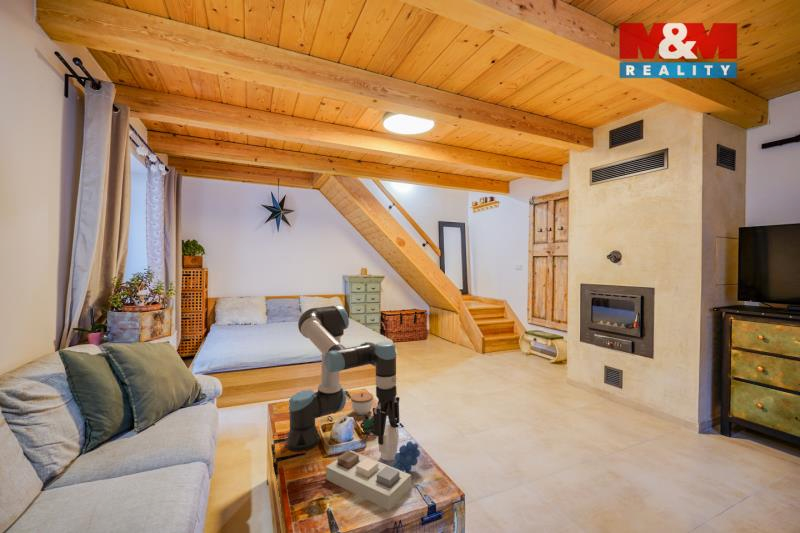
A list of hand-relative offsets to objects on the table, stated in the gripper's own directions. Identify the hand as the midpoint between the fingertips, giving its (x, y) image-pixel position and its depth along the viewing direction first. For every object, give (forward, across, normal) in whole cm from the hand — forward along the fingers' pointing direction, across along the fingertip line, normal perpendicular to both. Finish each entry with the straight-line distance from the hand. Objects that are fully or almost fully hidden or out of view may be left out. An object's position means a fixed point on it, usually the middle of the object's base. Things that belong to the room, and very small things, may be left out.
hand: (387, 448), depth 127 cm
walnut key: (+13, 0, +20) cm, 24 cm away
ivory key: (+13, 0, +10) cm, 17 cm away
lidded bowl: (+17, +46, +53) cm, 73 cm away
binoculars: (+17, +31, +35) cm, 50 cm away
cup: (+17, +19, +14) cm, 29 cm away
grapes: (+17, +15, +2) cm, 23 cm away
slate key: (+13, 0, 0) cm, 13 cm away
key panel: (+17, 0, +10) cm, 20 cm away
